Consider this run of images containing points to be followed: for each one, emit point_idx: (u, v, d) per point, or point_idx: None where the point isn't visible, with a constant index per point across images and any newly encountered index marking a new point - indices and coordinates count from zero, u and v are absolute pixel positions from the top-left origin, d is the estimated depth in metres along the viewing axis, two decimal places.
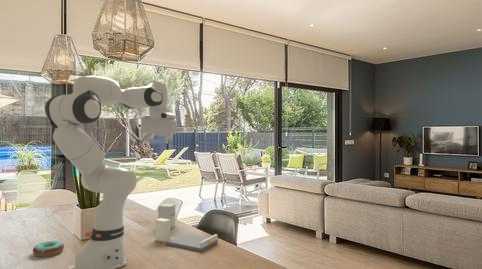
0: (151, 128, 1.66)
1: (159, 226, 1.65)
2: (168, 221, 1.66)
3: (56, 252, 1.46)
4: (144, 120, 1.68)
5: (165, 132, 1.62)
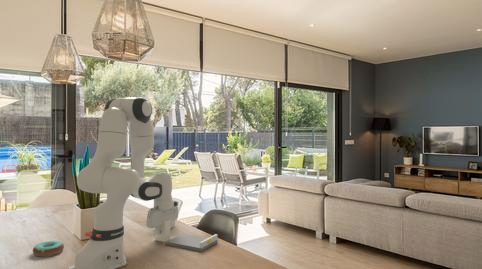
0: (161, 219, 1.64)
1: None
2: (168, 221, 1.66)
3: (56, 252, 1.46)
4: (156, 213, 1.60)
5: (173, 219, 1.71)
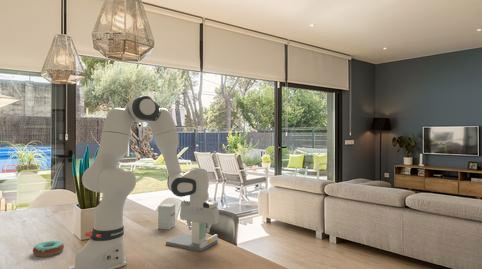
0: (191, 215, 1.59)
1: None
2: (196, 223, 1.57)
3: (56, 252, 1.46)
4: (184, 206, 1.61)
5: (207, 222, 1.56)
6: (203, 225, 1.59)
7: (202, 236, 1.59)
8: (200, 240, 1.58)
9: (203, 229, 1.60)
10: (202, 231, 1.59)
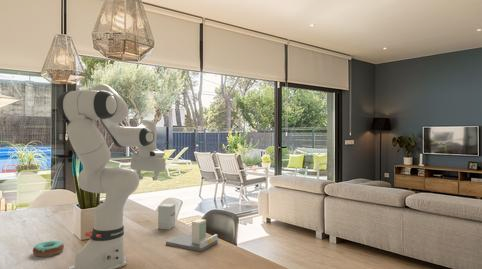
0: (140, 165, 1.71)
1: None
2: (196, 223, 1.57)
3: (56, 252, 1.46)
4: (134, 156, 1.73)
5: (154, 170, 1.67)
6: (203, 225, 1.59)
7: (202, 236, 1.59)
8: (200, 240, 1.58)
9: (203, 229, 1.60)
10: (202, 231, 1.59)
